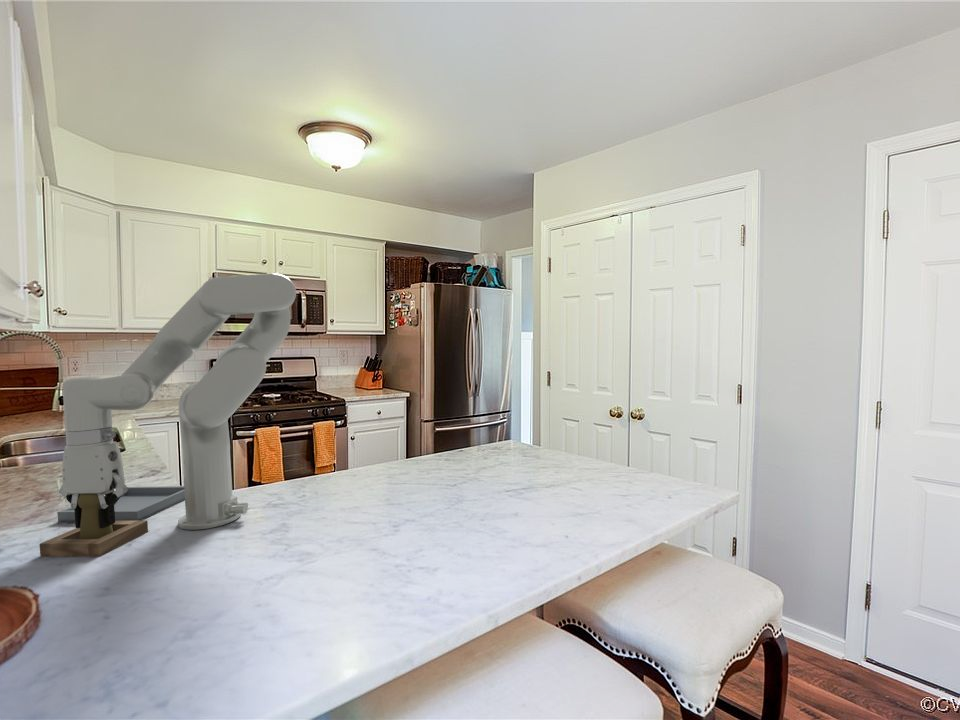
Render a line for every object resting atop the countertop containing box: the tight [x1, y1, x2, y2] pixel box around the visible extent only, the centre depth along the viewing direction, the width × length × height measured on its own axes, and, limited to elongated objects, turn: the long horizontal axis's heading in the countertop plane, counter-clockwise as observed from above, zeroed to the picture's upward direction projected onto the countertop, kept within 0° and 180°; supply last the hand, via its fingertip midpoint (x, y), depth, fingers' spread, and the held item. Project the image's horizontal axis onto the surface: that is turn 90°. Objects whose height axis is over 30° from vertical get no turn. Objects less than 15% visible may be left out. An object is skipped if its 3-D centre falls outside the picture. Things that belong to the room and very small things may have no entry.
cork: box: [78, 494, 113, 539], centre depth 102 cm, size 6×6×11 cm
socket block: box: [39, 519, 149, 557], centre depth 102 cm, size 12×12×2 cm
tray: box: [56, 485, 185, 524], centre depth 125 cm, size 20×20×2 cm
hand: (95, 524), depth 102 cm, fingers closed on cork, 4 cm apart
